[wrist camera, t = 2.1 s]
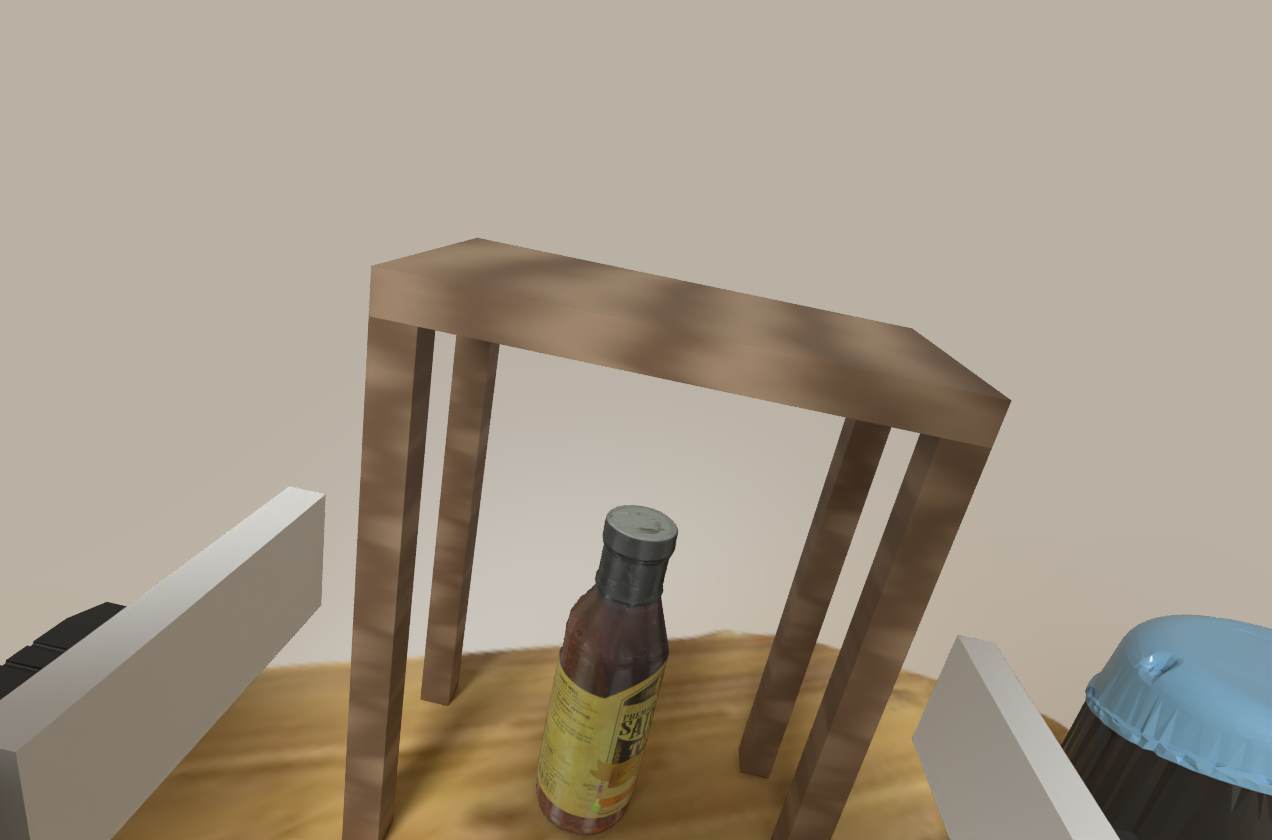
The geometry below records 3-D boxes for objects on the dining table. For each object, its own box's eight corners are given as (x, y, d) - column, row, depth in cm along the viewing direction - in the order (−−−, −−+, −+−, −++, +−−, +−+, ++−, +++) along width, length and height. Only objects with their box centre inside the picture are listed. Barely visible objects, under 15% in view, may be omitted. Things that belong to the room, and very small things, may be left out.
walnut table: (766, 754, 49) (912, 328, 38) (786, 946, 37) (1011, 400, 25) (431, 679, 49) (477, 238, 38) (342, 843, 37) (371, 265, 26)
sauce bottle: (611, 858, 39) (683, 573, 32) (515, 816, 41) (564, 533, 34) (642, 772, 45) (709, 516, 38) (557, 738, 47) (607, 484, 40)
